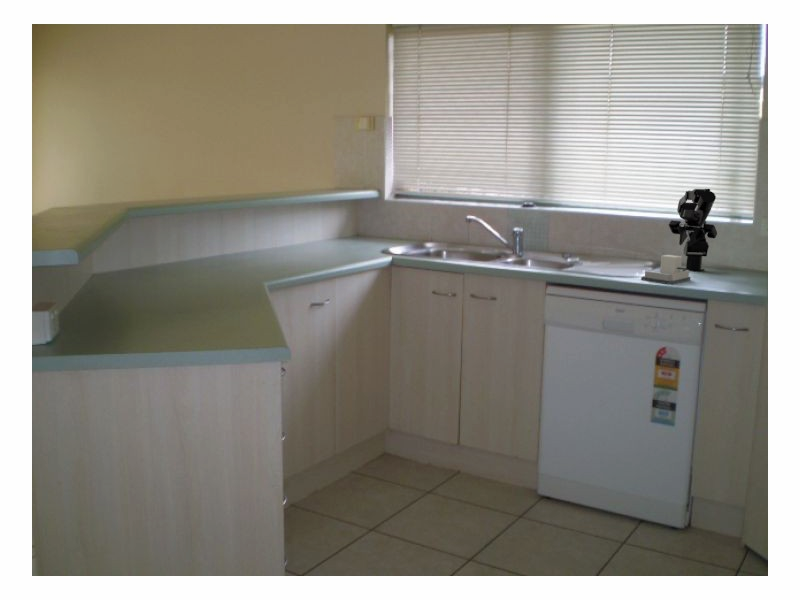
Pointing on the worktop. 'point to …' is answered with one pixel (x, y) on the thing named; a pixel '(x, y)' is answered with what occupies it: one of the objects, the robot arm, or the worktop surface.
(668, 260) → the gauge carriage
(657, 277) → the gauge base
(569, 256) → the worktop surface
